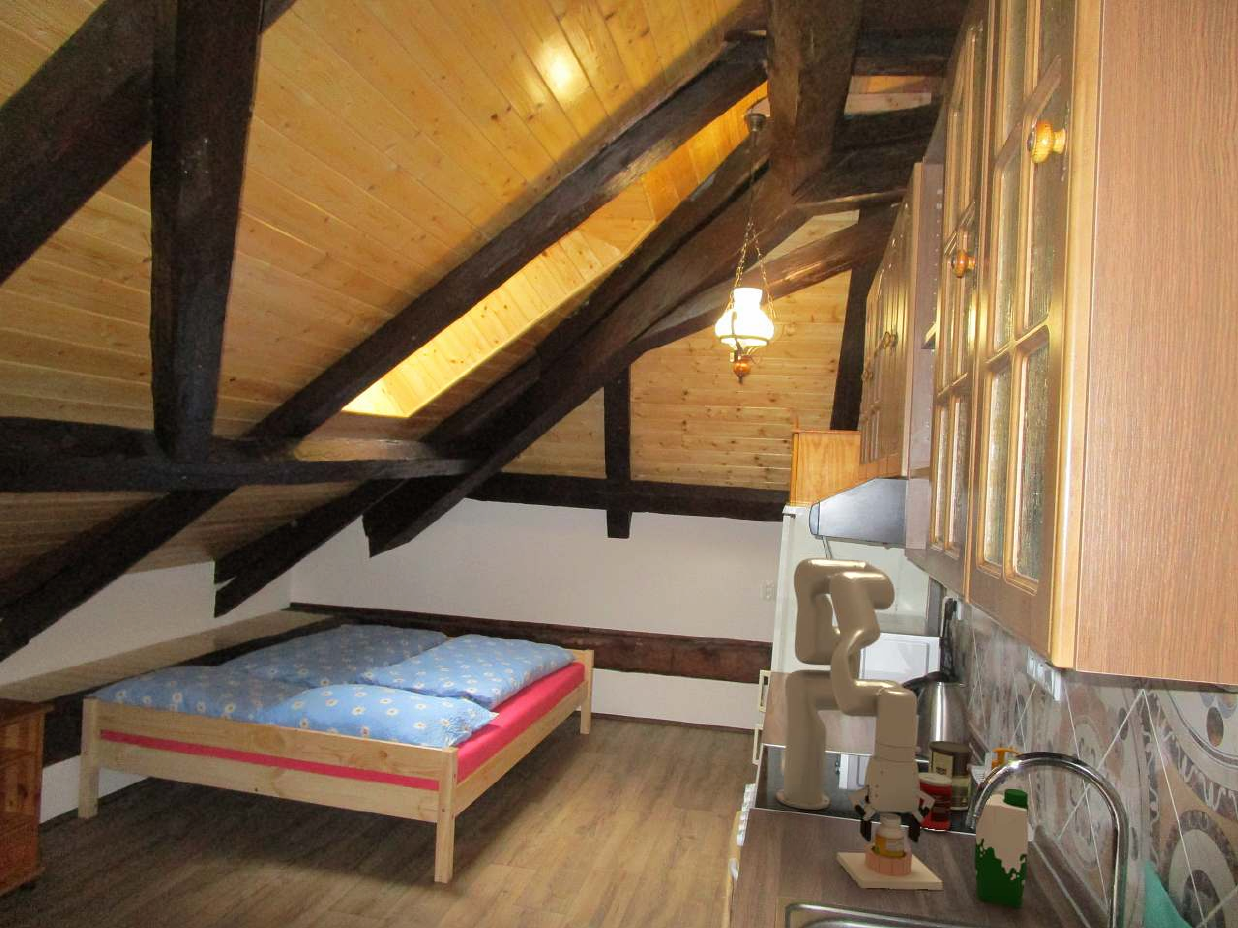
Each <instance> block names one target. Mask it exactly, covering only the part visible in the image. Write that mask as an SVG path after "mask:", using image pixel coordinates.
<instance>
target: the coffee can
mask: <svg viewBox="0 0 1238 928" xmlns="http://www.w3.org/2000/svg"><path fill="white" fill-rule="evenodd" d="M928 747H929V750H928V751H929V752H928V753H929V754H928V771H927V773H934V774H939V775H943V776H945V777H948V778H949V779H951V780H952V796H951V810H952V811H966V810H969V809H968V806H969V803H970V804H971V791H972V790H971V788H972V787H971V786H972V785H971V784H972V767H973V764H972V763H973V753H974V749H973V748H972V747H971V746H969V745H966V744H963V743H961V742H960V743H959V742H953V741H949V740H948V741H947V740H934V741H930V742H929V744H928Z"/></svg>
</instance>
